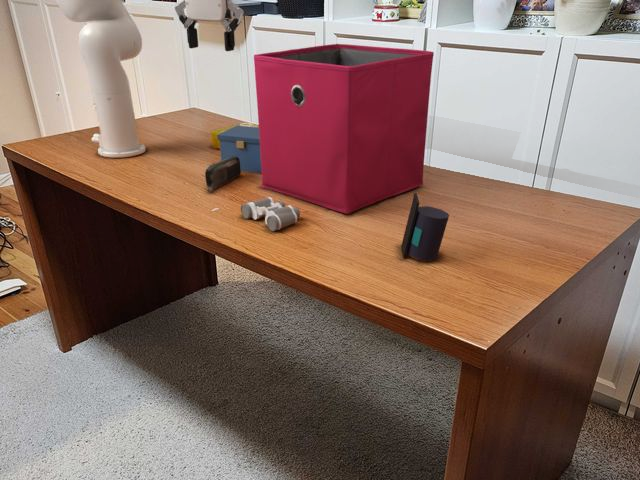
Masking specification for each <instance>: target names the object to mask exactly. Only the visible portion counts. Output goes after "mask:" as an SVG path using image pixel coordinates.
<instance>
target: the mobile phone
mask: <svg viewBox="0 0 640 480" xmlns="http://www.w3.org/2000/svg"><path fill="white" fill-rule="evenodd" d="M241 172H242V171H241V169H240V160H239V158H238V157H235V156H232V157H230V158H227V159H225V160H222V161H221V160H220V161H218V162H214V163H211V164H210V165H209V166H208V167H207V168H206V169H205V173H204V178H205V184H206V186H207V187H208V189H207V191H208V192H209V193H210V192H212V191H214V190H215V189H217V188H219V187H221V186H224V185H225V184H227V183H230V182H232V181H233V180H235V179H237V178H239V177H240V176H241V175H242V173H241Z"/></svg>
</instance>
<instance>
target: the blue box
mask: <svg viewBox="0 0 640 480" xmlns="http://www.w3.org/2000/svg"><path fill="white" fill-rule="evenodd" d="M217 138H218V140H220V149H219V151H220V161H222V160H225V159H227V158H230V157H232V156H235V157H238V158H239V160H240V169H241V172H247V173H255V174H262V169H261V153H260V137H259V128H258V127H247V126H235V127H233V128H231V129H229V130H226V131H224V132H222V133H220V134H218V135H217Z"/></svg>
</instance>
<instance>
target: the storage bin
mask: <svg viewBox="0 0 640 480" xmlns="http://www.w3.org/2000/svg"><path fill="white" fill-rule="evenodd" d="M434 56H435V53H434V51H431V50H430V51H429V50H422V49H421V50H420V49H413V48H411V49H410V48H397V47H396V48H395V47H386V46H385V47H384V46H383V47H382V46H371V45H361V44H360V45H358V44H348V43H331V44H324V45H323V44H322V45H315V46H307V47H300V48H292V49H286V50H279V51H272V52H263V53H257V54H253V62H254V63H253V64H254V66H253V67H254V80H255V92H256V94H255V95H256V106H257V119H258V121H257V122H258V125H259V137H260V153H261V169H262V173H261V188H262V189H264V190H265V189H266V190H271V191H275V192H278V193H281V194H284V195H287V196H290V197H293V198H297V199H300V200H302V201H306V202H309V203H313V204H315V205H319V206H321V207H323V208H326V209H330V210H333V211H336V212H339V213H342V214H345V215H349V214H351V213H354V212H356V211H358V210H360V209H362V208H366V207H368V206H371V205H373V204H376V203H377V202H381V201H383V200H385V199H388V198H391V197H393V196H397V195H400V194H402V193H405V192H408V191H410V190H412V189H415V188H418V187H421V186H423V185H424V166H425V155H426V154H425V153H426V152H425V151H426V141H427V130H428V129H427V128H428V117H429V105H430V94H431V82H432V73H433V62H434Z"/></svg>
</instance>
